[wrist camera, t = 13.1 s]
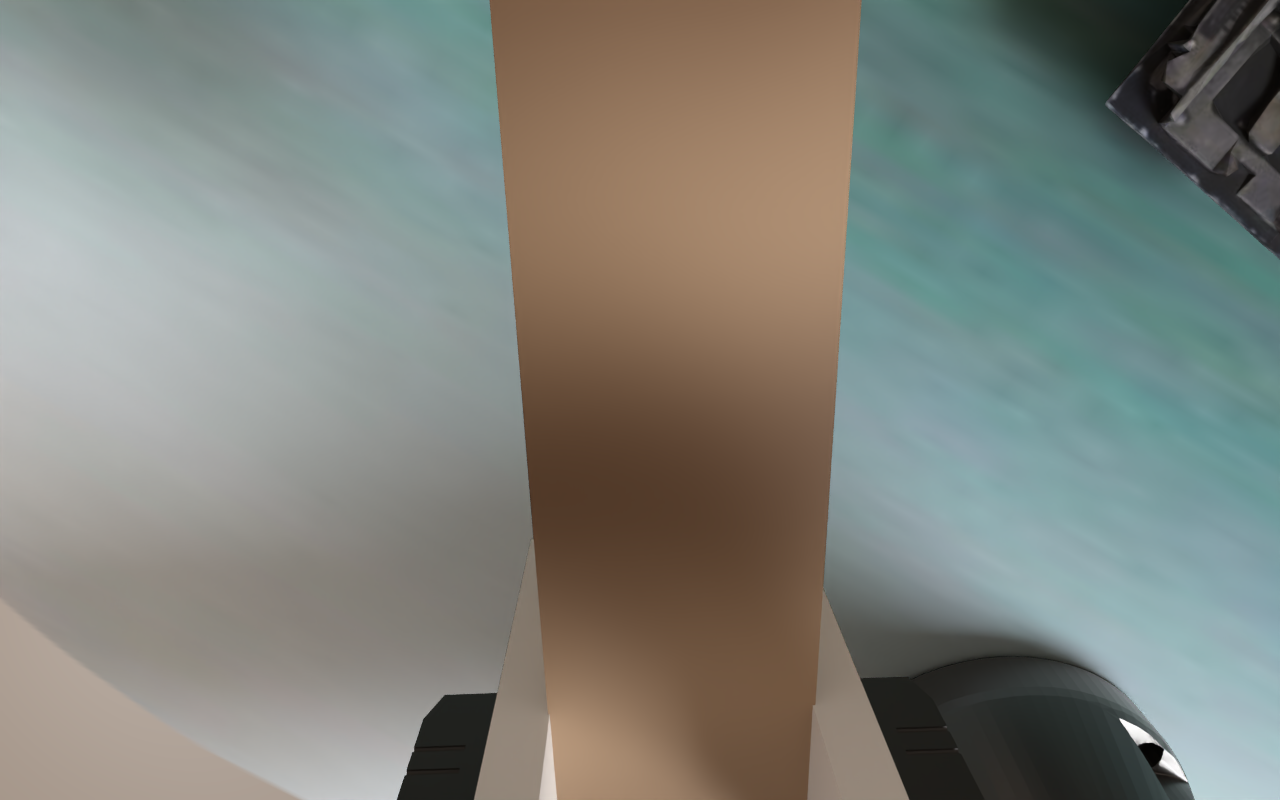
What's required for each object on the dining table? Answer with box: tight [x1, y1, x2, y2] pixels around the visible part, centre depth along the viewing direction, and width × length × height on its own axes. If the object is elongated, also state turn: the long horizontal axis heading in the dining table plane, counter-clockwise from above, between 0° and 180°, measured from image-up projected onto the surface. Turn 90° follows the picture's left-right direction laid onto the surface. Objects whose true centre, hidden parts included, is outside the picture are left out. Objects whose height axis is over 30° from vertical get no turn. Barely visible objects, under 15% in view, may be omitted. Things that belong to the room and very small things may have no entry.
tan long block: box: [490, 0, 861, 800], centre depth 12 cm, size 15×6×5 cm, turn 1°
